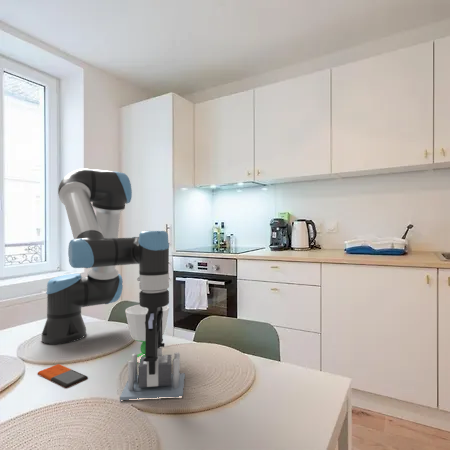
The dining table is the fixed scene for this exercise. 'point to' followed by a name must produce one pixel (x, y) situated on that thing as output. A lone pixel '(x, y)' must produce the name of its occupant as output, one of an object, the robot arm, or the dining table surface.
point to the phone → (62, 375)
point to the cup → (141, 323)
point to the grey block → (163, 371)
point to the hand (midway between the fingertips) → (154, 378)
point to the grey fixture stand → (171, 390)
